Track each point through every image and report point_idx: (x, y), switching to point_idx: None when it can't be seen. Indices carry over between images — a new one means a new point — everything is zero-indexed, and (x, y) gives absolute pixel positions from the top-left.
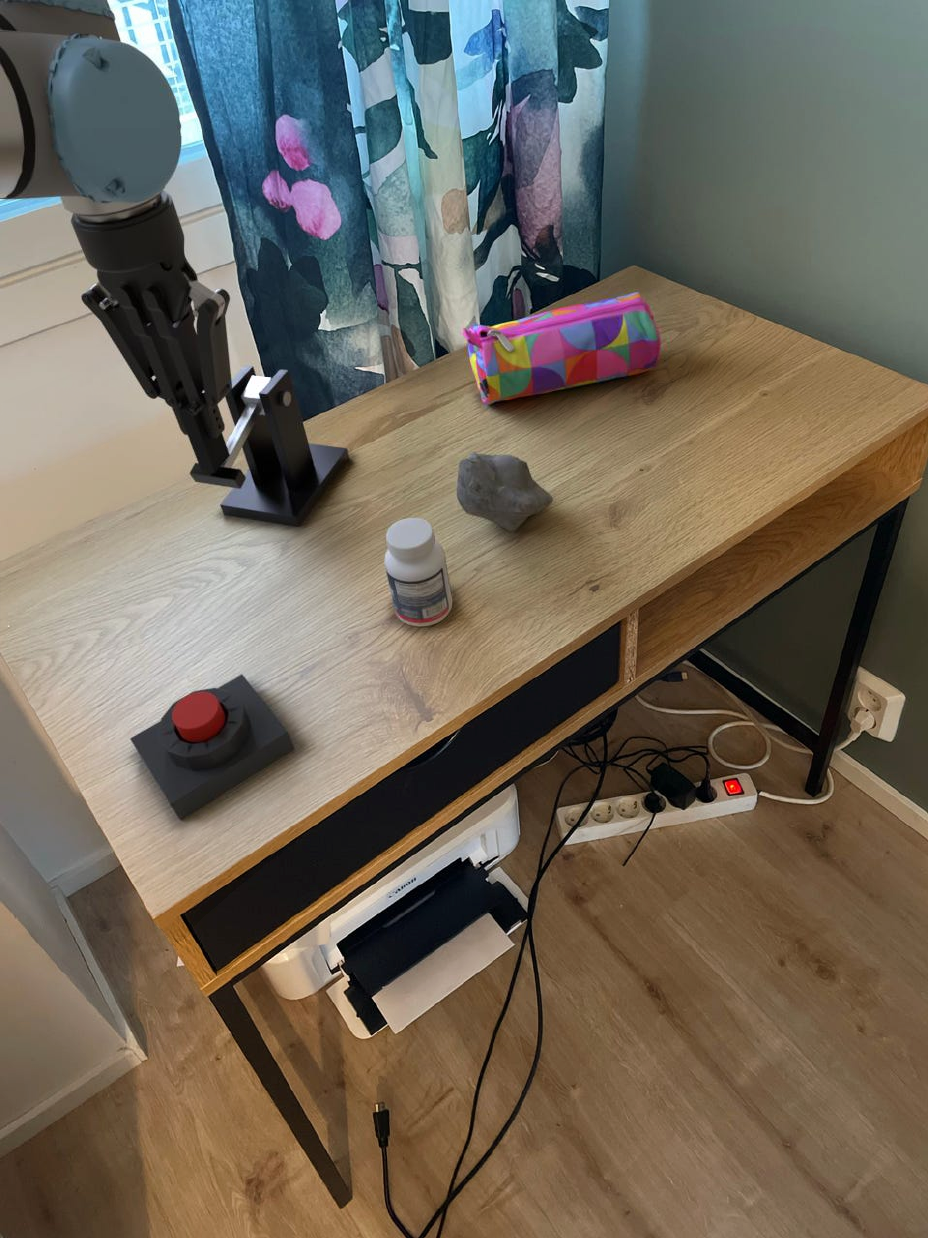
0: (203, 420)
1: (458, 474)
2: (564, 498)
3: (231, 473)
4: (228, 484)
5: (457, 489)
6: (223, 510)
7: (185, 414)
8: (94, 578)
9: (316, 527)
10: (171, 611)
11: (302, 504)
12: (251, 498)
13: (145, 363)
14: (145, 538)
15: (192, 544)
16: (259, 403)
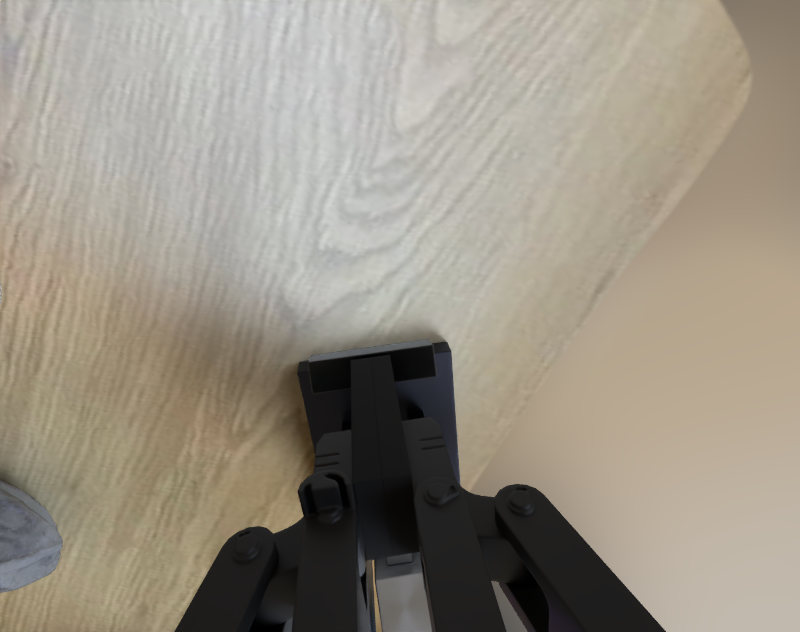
0: (345, 469)
1: (16, 539)
2: None
3: (327, 376)
4: (337, 353)
5: (13, 511)
6: (445, 345)
7: (385, 466)
8: (580, 116)
9: (271, 371)
10: (376, 95)
11: (309, 401)
12: (406, 382)
13: (563, 630)
14: (547, 243)
15: (453, 261)
16: (382, 567)
